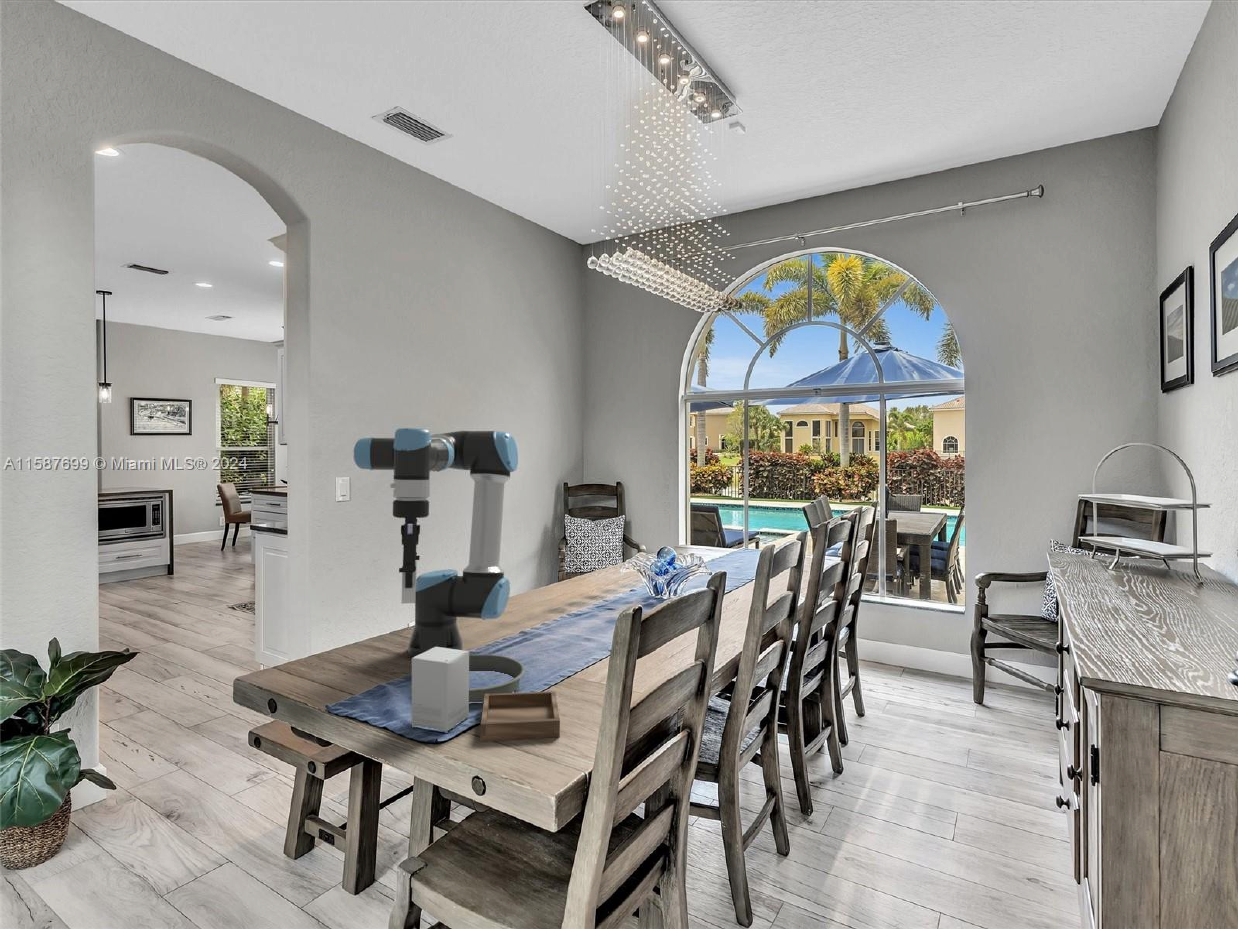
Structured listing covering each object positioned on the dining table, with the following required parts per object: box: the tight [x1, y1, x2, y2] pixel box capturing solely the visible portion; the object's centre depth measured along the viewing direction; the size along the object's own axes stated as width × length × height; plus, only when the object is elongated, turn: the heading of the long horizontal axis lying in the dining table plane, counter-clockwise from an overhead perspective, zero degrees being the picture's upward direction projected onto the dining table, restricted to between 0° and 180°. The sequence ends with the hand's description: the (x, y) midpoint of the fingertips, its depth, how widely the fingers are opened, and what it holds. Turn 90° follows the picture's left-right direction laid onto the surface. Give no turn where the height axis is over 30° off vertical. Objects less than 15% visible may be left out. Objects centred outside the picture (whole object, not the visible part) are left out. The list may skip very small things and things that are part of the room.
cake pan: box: [469, 653, 526, 702], centre depth 158 cm, size 25×25×4 cm
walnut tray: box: [480, 690, 561, 742], centre depth 138 cm, size 16×16×4 cm
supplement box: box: [410, 647, 470, 731], centre depth 137 cm, size 9×9×15 cm
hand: (409, 596), depth 139 cm, fingers open, 13 cm apart
